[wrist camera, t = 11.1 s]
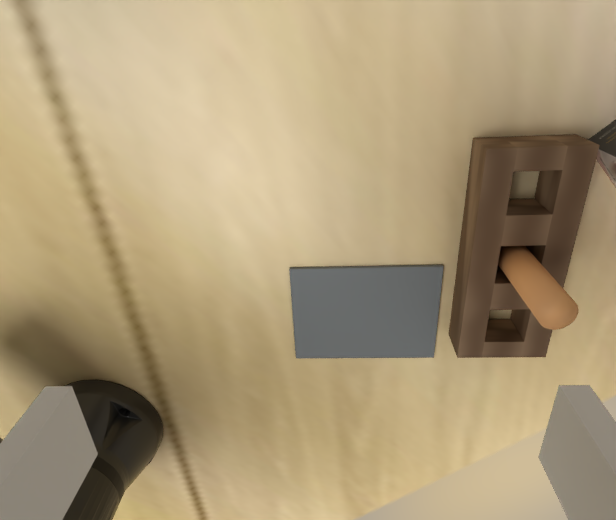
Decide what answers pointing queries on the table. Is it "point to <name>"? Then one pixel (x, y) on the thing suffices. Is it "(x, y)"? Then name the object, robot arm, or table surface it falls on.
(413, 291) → the mat
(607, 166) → the cake mix box
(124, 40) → the table surface
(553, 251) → the hole block
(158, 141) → the table surface
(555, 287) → the pin
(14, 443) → the robot arm
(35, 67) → the table surface
